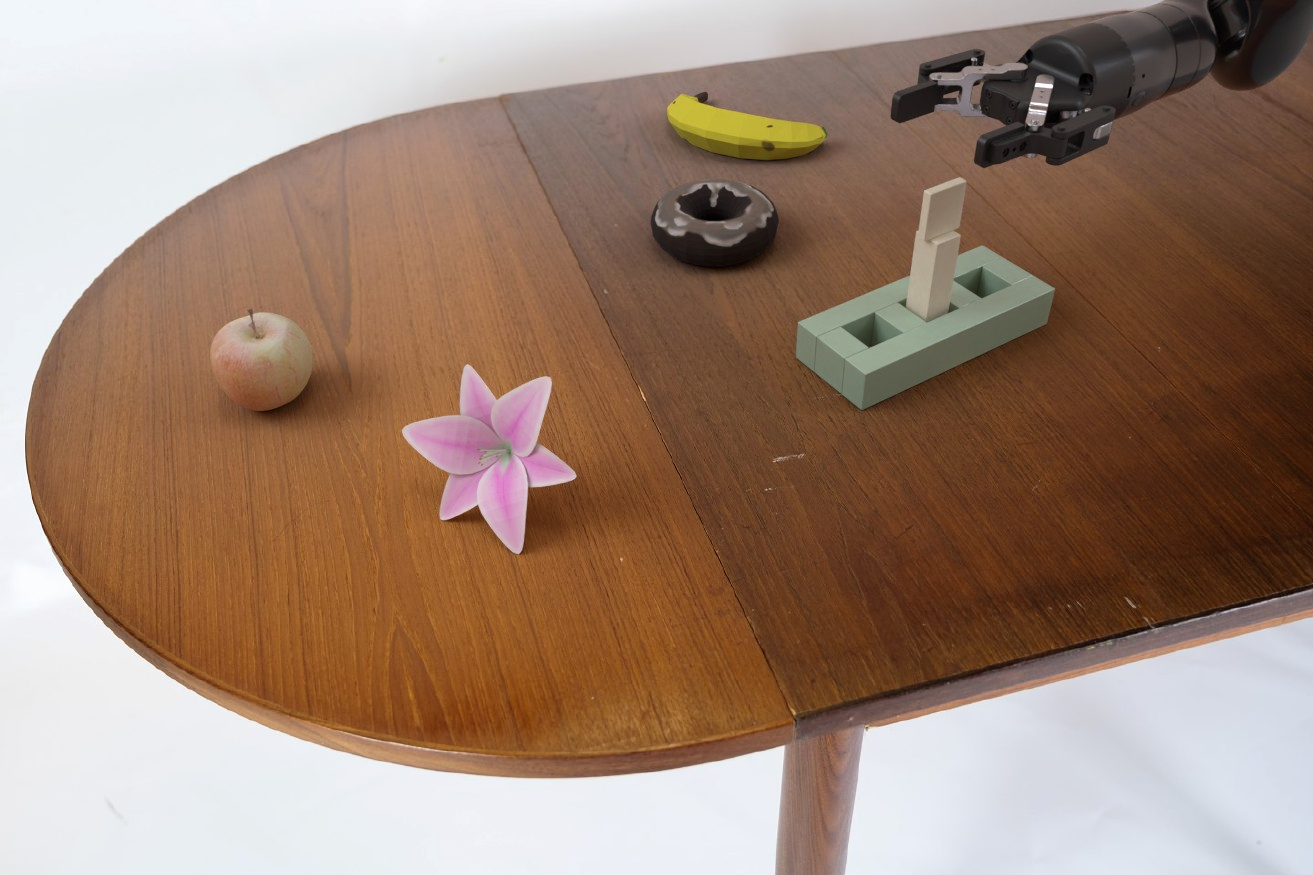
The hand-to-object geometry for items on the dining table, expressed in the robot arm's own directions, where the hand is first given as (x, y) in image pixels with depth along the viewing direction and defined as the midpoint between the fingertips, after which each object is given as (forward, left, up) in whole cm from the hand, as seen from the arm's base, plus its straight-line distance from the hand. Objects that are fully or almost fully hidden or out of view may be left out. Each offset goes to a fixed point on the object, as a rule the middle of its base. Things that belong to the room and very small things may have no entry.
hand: (935, 130), depth 79 cm
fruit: (+37, +34, -19) cm, 54 cm away
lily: (+14, +32, -19) cm, 40 cm away
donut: (+22, -5, -19) cm, 30 cm away
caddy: (-1, -2, -19) cm, 19 cm away
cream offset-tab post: (-1, -2, -19) cm, 19 cm away
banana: (+32, -25, -19) cm, 45 cm away
